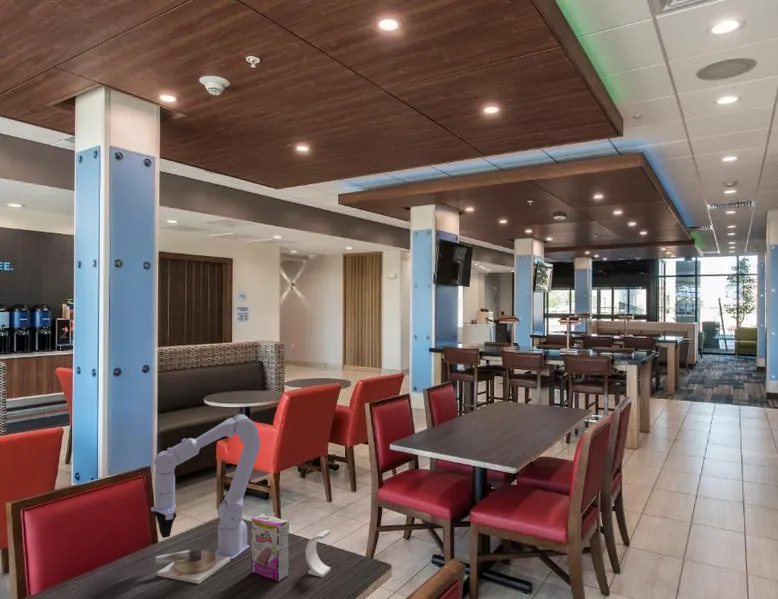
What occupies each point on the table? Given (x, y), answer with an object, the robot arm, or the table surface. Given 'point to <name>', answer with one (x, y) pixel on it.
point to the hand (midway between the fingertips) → (165, 535)
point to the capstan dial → (189, 560)
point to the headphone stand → (316, 556)
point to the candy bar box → (270, 547)
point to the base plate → (193, 577)
